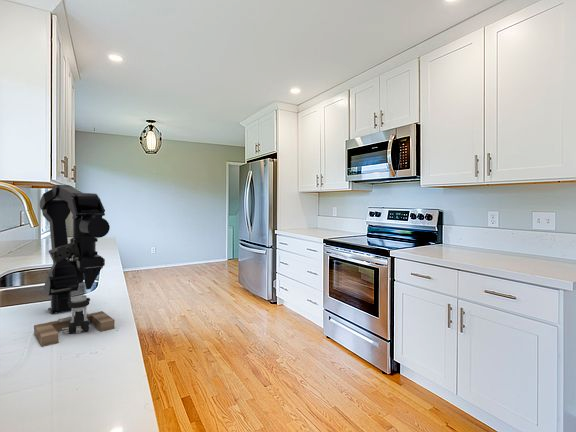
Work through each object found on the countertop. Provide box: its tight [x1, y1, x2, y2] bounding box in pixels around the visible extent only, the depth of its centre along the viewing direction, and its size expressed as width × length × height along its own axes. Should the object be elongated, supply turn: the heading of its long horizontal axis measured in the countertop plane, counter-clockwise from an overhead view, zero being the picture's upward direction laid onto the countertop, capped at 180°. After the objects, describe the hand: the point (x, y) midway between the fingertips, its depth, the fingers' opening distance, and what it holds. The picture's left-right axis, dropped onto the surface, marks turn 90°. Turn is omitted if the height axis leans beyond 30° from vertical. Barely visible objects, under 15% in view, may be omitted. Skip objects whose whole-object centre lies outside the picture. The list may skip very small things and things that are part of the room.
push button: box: [61, 294, 91, 335], centre depth 89 cm, size 7×5×10 cm
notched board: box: [33, 310, 116, 347], centre depth 89 cm, size 11×17×3 cm, turn 137°
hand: (84, 286), depth 95 cm, fingers open, 9 cm apart
